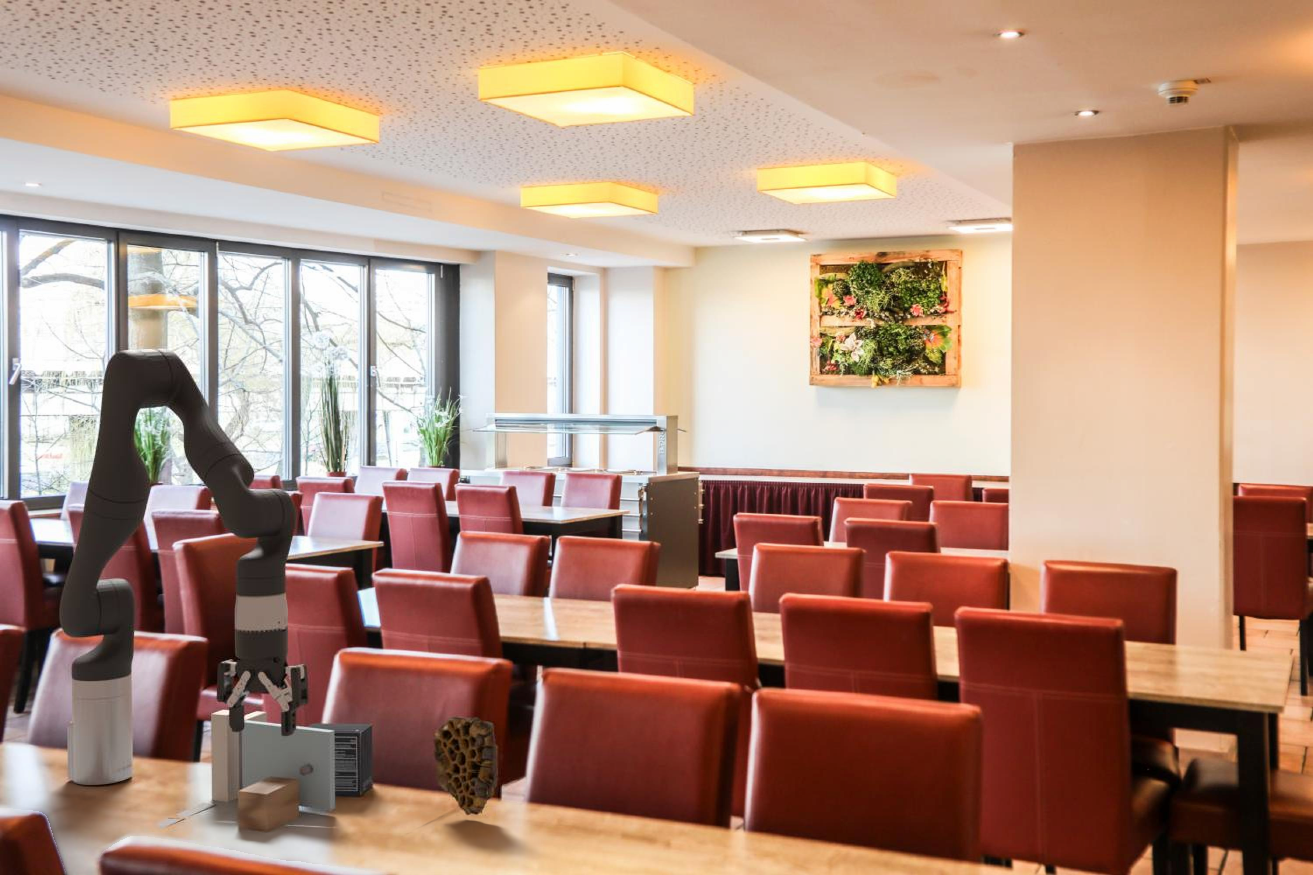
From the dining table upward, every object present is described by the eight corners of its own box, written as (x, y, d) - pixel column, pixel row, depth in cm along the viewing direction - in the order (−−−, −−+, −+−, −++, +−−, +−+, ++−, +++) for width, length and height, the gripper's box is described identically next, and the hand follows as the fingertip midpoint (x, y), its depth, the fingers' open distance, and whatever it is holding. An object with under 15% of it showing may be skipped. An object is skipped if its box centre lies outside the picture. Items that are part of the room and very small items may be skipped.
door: (324, 812, 193) (323, 734, 193) (231, 799, 200) (230, 723, 200) (335, 808, 195) (334, 730, 195) (242, 794, 202) (242, 719, 202)
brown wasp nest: (425, 815, 195) (425, 718, 194) (437, 807, 199) (437, 711, 198) (495, 821, 192) (494, 722, 191) (505, 813, 196) (505, 716, 195)
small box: (374, 785, 211) (374, 722, 211) (361, 797, 204) (361, 732, 204) (313, 783, 212) (312, 721, 212) (298, 795, 205) (297, 730, 205)
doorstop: (238, 831, 188) (238, 790, 188) (271, 814, 196) (270, 776, 196) (267, 834, 186) (267, 793, 186) (299, 818, 194) (298, 779, 194)
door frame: (114, 845, 182) (113, 747, 181) (254, 782, 213) (253, 698, 212) (131, 847, 181) (130, 749, 181) (269, 783, 212) (269, 700, 211)
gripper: (204, 626, 187) (206, 735, 187) (288, 630, 183) (290, 742, 183) (235, 618, 194) (237, 724, 194) (317, 622, 190) (318, 730, 190)
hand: (262, 732), depth 189 cm, fingers open, 8 cm apart
